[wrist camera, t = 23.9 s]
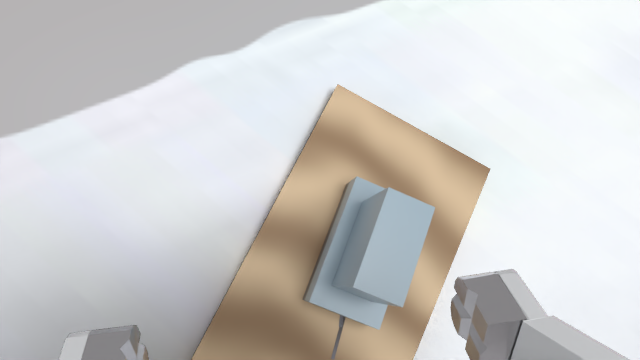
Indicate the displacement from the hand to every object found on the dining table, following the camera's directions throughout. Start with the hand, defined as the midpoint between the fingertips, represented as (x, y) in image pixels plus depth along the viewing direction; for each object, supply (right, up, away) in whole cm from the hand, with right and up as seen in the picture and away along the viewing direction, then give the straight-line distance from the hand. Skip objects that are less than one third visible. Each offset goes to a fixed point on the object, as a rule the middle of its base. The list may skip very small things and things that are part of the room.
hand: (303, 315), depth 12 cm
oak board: (+2, -4, +24) cm, 24 cm away
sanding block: (+3, -2, +23) cm, 23 cm away
